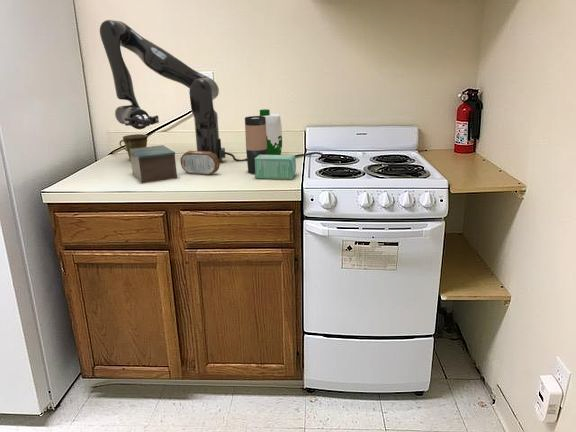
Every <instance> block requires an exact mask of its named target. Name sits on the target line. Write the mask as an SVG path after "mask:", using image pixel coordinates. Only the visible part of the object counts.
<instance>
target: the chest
mask: <svg viewBox="0 0 576 432" xmlns="http://www.w3.org/2000/svg"><path fill="white" fill-rule="evenodd" d="M130 157H131V161H130V164H131V171H132V175H133V177H135V178H136V179H137V180H138V181H139V182H140V184H145V183H153V182H159V181H160V182H161V181H167V180H173V179H178V173H177V164H176V162H177V161H176V154H175V155H166V156H158V157H150V158H141V159H139V158H138V157H136V156H135V155H134V154H133V153H132V152H130Z"/></svg>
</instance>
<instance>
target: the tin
mask: <svg viewBox="0 0 576 432" xmlns="http://www.w3.org/2000/svg"><path fill="white" fill-rule="evenodd" d="M180 165H181V168H182V170H183V171H184V172H185V173H187V174H190V175H203V176H210V175H213V174H215V173H216V172H218V171H219V169H220V163H219V160H218V158H217V156H216V155H215V154H213V153H212V152H204V151H197V150H188V151H186V152H185V153H183V154H182V155H181V157H180Z"/></svg>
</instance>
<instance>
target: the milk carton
mask: <svg viewBox="0 0 576 432" xmlns="http://www.w3.org/2000/svg"><path fill="white" fill-rule="evenodd" d="M258 116H264V117H265V118H266V138H267V155H282V152H283V151H282V150H283V149H282V148H283V129H282V128H283V127H282V119H281V114H280V113H270V109H268V108H264V109H263V108H262V109H259V115H258Z"/></svg>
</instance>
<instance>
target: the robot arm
mask: <svg viewBox="0 0 576 432" xmlns="http://www.w3.org/2000/svg"><path fill="white" fill-rule="evenodd" d="M99 36H100V40H101V42H102V45H103V49H104V50H105V54H106V56H107V60H108V63H109V66H110V71H111V74H112V78H113V85H114V88H115V94H116V98H117V99H118V100H119V101H120V100H121V101H128V102H129V103H130V104H128V105H127V104H126V105H120V106H117V107H116V108H115V110H114V116H115V119H116V121H117V122H118V123H119V124H121V125H124V126H126V127H127V126H130V127H132V128H134V129H136V130H144V129H146V128H147V127H150V126H153V125H155V124H159V123H160V119H159V115H154V116H152V115H149V114H148V112H147V111H145V109H141V106H140V105H139V102H138V99H137V97H136V95H135V90H134V83H133V79H132V75H131V73H130V70H129V68H128V66H127V65H126V62H125V60H124V57H123V54H122V48H124V49H126V50H128V51H130V52H132V53H134V54H135V56H137V57H138V58H139V59H140V60H141V61H142V63H143V64H144V65H145V66H146V67H147V68H148V69H150V70H151V71H153V72H154V73H156V74H158V75H159V76H161V77H163V78H165V79H168V80H169V81H173V82H176V83H178V84H181V85H183V86H184V87H186V88H188V91H189V92H188V93H189V101H190V110H191V114H192V115H193V121H194V132H195V133H194V134H195V142H196V151H204V152H212V153H213V154H215V155H216V156H217V158H218V160H219V164H220V163H223V159H226V156H227V155H228V156H230V157H231V158H232V159H233V161H235V162H247V158H243V159H239V158H236V156H235V155H234V154H233V153H230V152H228V151H226V148H225V147H222V140H221V138H220V132H219V119H218V118H219V117H218V112H217V111H216V110H215V108H214V100H215V99H217V97H218V96H219V94H220V89H219V85H218V84H217V82H216V81H215V80H214V79H213V78H211V77H209V76H207V75H204V74H202V73H201V72H199V71H196V70H195V69H193V68H191V67H190V66H188V64H186V63H184V62H183V61H182V60H180V59H178V57H175V56H174V55H173V54H172V53H170V52H168V51H167V50H165V49H164V48H162V47H160V46H158V45H157V44H155V43H153V42H152V41H150V40H149V39H147V38H144V37H143V36H142V35H140V34H139V33H138V32H136V31H135V30H134V29H133V28H132V27H130V26H129V25H128V24H126V23H125V22H123V21H120V20H113V19H107V20H104V21H103V22H101V24H100V26H99ZM121 47H122V48H121ZM312 155H319V156H322V157H323V158H326V156H327V155H326V154H325V153H322V152H320V151H312V152H308V153H307V152H306V153H298V154H295V155H294V156H295V158H298V157H299V158H300V157H305V156H312Z"/></svg>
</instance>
